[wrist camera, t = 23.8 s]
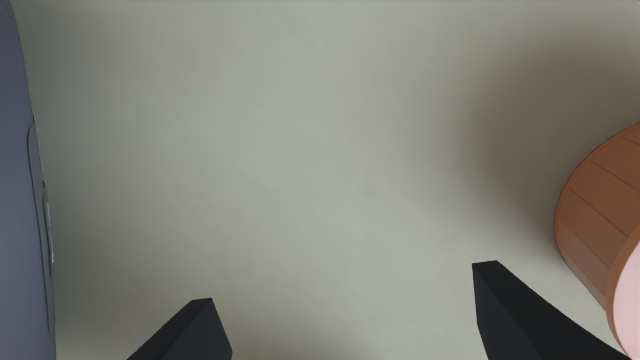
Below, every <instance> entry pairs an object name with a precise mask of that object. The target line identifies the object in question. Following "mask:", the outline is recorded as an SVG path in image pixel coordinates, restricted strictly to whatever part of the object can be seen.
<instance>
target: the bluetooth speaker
mask: <svg viewBox="0 0 640 360" xmlns="http://www.w3.org/2000/svg"><path fill="white" fill-rule="evenodd" d="M53 263H54V254H53V243H52V232H51V221H50V213H49V205H48V198H47V192H46V187H45V182H44V181H43V179H42V172H41V165H40V157H39V150H38V144H37V137H36V130H35V123H34V116H33V115H32V109H31V103H30V97H29V90H28V84H27V78H26V71H25V65H24V59H23V52H22V47H21V42H20V38H19V33H18V29H17V24H16V20H15V16H14V13H13V9H12V5H11V1H10V0H0V360H56V345H55V306H54V291H53Z"/></svg>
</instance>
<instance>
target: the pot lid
mask: <svg viewBox="0 0 640 360" xmlns="http://www.w3.org/2000/svg"><path fill="white" fill-rule="evenodd" d="M605 305H606V315H607V320H608V324H609V327H610V329H611V332H612V334H613V336H614V338H615V340H616V341H617V343H618V344H619V346H620V347H621V349H622V350H623V351H624V352H625V354H626V355H627V356H628V357H629V358H631V359H632V360H640V223H639V225H638V226H637V227H636V228H635V229H634V231H633V232H632V233H631V234H630V236H629V237H628V239H627V240H626V242H625V243H624V245H623V247H622V248H621V250H620V251H619V253H618V256H617V258H616V260H615V262H614V264H613V266H612V269H611V272H610V275H609V278H608V282H607V288H606V295H605Z"/></svg>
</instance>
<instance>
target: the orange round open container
mask: <svg viewBox="0 0 640 360" xmlns="http://www.w3.org/2000/svg"><path fill="white" fill-rule="evenodd" d="M639 223H640V123H638V124H636V125H634V126H632V127H629V128H627V129H625V130H623V131H622V132H620V133H618V134H616V135H615V136H613V137H611V138H610V139H608V140H607V141H606V142H604V143H603V144H602V145H600V146H599V147H598V148H596V149H595V150H594V151H593V152H592V153H591V154H590V155H589V156H588V157H586V159H585V160H584V161H583V162H582V163H581V164H580V165H579V166H578V167H577V169H576V170H575V171H574V173H573V174H572V176H571V177H570V178H569V180H568V182H567V184H566V185H565V187H564V189H563V191H562V193H561V196H560V199H559V201H558V204H557V209H556V213H555V223H554V229H555V238H556V242H557V246H558V248H559V251H560V253H561V255H562V257H563V258H564V260H565V261H566V263H567V265H568V266H569V268H570V269H571V270H572V272H573V273H574V274H575V275H576V276H577V278H578V279H579V280H580V281H581V282H582V284H583V285H584V286H585V287H586V288H587V290H588V291H589V292H590V293H591V294H592V296H593V297H594V298H595V299H596V300H597V302H598V303H599V304H600V305H601V307H602V308H603V309H604V310H605V311H606V305H605V295H606V288H607V282H608V278H609V275H610V272H611V269H612V266H613V264H614V262H615V260H616V258H617V256H618V253H619V251H620V250H621V248H622V247H623V245H624V243H625V242H626V240H627V239H628V237H629V236H630V234H631V233H632V232H633V231H634V229H635V228H636V227H637V226H638V225H639Z"/></svg>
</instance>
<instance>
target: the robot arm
mask: <svg viewBox="0 0 640 360" xmlns="http://www.w3.org/2000/svg"><path fill="white" fill-rule="evenodd" d="M472 270H473V281H474V293H475V304H476V315H477V325H478V329H479V332H480V335H481V338H482V341H483V344H484V348H485V351H486V354H487V357H488V360H632V359H631V358H629V357H627V356H626V355H624V354H622V353H621V352H619V351H617V350H616V349H614V348H612V347H611V346H609V345H608V344H606V343H604V342H603V341H601V340H600V339H598V338H597V337H595V336H594V335H593V334H591V333H590V332H588V331H587V330H585V329H584V328H582V327H581V326H579V325H578V324H577V323H575V322H574V321H572V320H571V319H570V318H568V317H567V316H565V315H564V314H563V313H562V312H560V311H559V310H558V309H556V308H555V307H554V306H552V305H551V304H550V303H548V302H547V301H546V300H544V299H543V298H542V297H541V296H539V295H538V294H537V293H536V292H534V291H533V290H532V289H531V288H529V287H528V286H527V285H526V284H525V283H523V282H522V281H521V280H520V279H519V278H517V277H516V276H515V275H514V274H513V273H512V272H510V271H509V270H508V269H507V268H506V267H505V266H503V265H502V264H501V263H500V262H498V261H497V260H495V261H487V262H480V263H472ZM231 358H232V349H231V346H230V344H229V341H228V339H227V336H226V334H225V331H224V328H223V326H222V323H221V321H220V318H219V316H218V313H217V310H216V308H215V305H214V303H213V300H212V298H205V299H198V300H192V301H190V302H189V303H188V304H187V305H185V306H184V307H183V308H182V309H181V310H180V311H179V312H178V313H176V314H175V315H174V316H173V317H172V318H171V319H170V320H169V321H168V322H167V323H166V324H165V325H163V326H162V327H161V328H160V329H159V330H158V331H157V332H156V333H155V334H154V335H153V336H152V337H151V338H150V339H149V340H147V341H146V342H145V343H144V344H143V345H142V346H141V347H140V348H139V349H138V350H137V351H136V352H135V353H133V354H132V355H131V356H130V357H129V358H128V359H127V360H231Z"/></svg>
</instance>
